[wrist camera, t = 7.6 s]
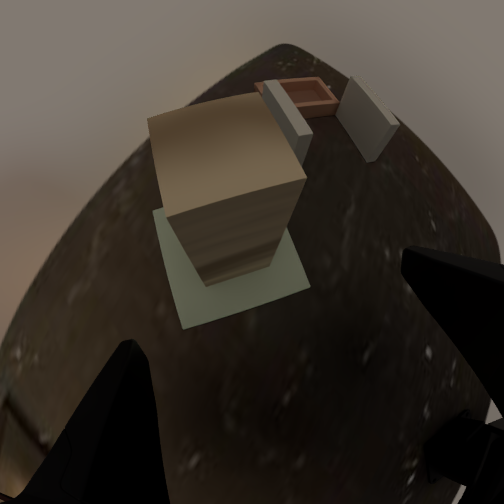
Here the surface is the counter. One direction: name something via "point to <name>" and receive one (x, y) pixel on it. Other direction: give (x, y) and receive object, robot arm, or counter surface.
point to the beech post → (226, 183)
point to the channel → (348, 113)
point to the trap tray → (308, 96)
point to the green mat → (230, 291)
